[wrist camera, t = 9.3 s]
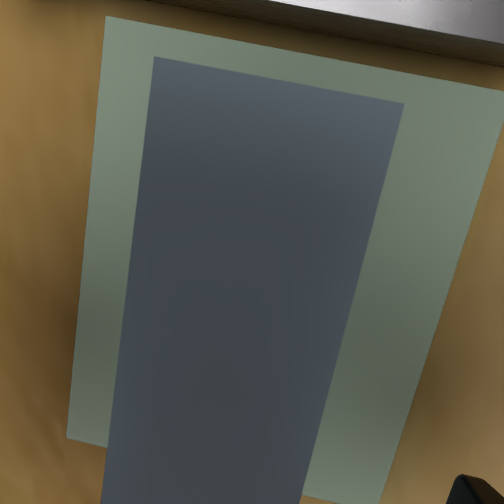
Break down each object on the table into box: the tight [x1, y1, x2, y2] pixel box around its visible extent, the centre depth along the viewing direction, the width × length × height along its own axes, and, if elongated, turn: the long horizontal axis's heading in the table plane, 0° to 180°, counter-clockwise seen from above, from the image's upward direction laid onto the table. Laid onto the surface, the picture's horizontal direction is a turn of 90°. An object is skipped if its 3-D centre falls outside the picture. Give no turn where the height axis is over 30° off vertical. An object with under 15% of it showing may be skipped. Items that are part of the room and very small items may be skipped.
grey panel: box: [101, 56, 405, 504], centre depth 12 cm, size 3×12×9 cm, turn 169°
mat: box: [66, 16, 504, 504], centre depth 16 cm, size 12×15×1 cm
